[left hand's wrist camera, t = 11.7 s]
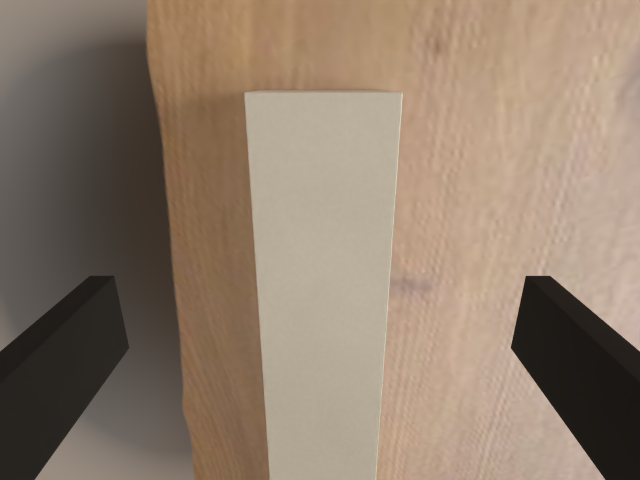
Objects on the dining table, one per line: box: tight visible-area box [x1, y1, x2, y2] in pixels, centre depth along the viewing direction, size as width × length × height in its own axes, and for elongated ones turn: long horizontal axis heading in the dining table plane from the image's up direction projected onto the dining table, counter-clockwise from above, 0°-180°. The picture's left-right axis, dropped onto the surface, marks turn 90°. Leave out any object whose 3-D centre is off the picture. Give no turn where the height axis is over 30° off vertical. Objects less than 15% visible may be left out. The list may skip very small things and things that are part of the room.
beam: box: [244, 90, 403, 480], centre depth 38 cm, size 63×9×6 cm, turn 0°
